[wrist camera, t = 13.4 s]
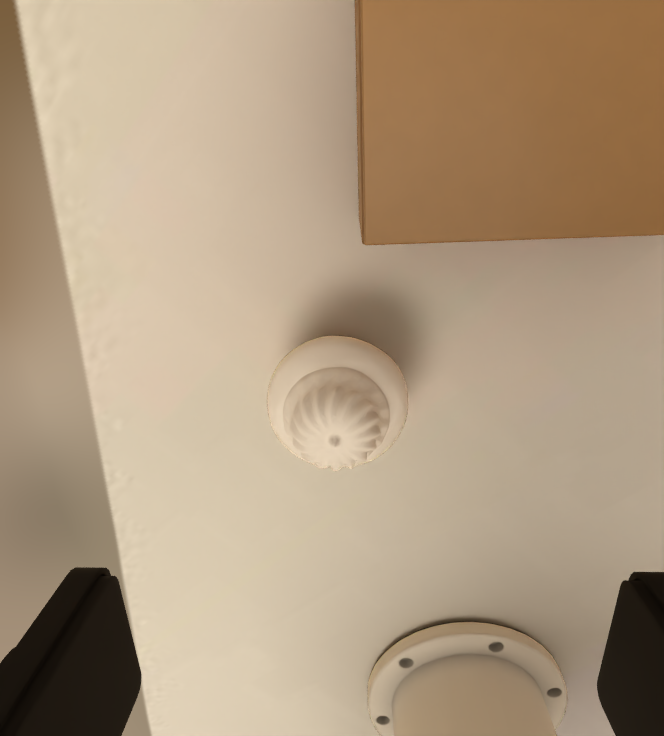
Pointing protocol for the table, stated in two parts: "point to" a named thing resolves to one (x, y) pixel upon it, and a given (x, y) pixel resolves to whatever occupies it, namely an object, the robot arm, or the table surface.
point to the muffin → (337, 402)
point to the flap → (512, 119)
